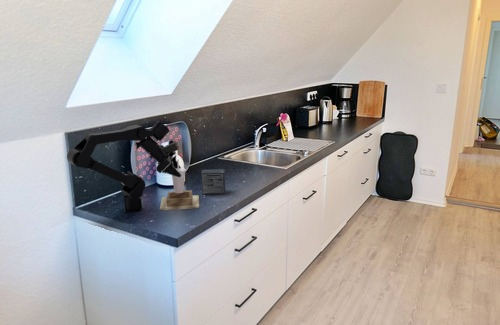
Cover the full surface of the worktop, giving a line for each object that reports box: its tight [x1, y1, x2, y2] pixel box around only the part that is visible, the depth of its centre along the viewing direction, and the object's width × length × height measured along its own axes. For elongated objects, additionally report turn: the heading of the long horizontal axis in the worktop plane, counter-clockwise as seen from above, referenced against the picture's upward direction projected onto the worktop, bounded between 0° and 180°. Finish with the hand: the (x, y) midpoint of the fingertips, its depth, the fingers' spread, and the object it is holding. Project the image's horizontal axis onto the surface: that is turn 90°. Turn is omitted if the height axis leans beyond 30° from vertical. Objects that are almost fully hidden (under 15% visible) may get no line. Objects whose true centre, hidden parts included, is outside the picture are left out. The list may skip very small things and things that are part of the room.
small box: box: [200, 168, 226, 196], centre depth 187 cm, size 11×6×10 cm, turn 92°
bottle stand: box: [159, 190, 200, 211], centre depth 175 cm, size 16×14×4 cm
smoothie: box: [171, 159, 187, 193], centre depth 172 cm, size 6×6×14 cm
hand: (181, 174), depth 172 cm, fingers closed on smoothie, 6 cm apart
